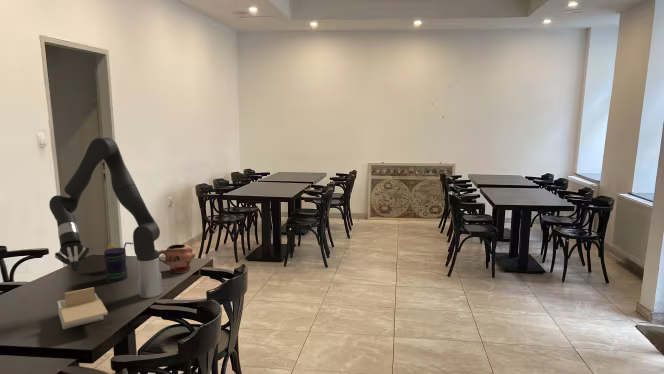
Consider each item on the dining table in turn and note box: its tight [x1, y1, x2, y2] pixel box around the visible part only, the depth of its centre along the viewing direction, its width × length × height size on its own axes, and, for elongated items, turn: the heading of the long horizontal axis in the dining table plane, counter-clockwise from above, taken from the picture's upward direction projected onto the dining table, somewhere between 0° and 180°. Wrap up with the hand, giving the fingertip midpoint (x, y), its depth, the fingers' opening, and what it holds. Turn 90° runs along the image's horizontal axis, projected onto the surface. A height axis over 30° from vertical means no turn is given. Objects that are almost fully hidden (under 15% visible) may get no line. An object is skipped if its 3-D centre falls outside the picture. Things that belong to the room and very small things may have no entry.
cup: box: [106, 241, 134, 252], centre depth 234 cm, size 14×8×15 cm, turn 95°
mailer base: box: [57, 292, 105, 330], centre depth 176 cm, size 14×16×6 cm
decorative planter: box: [158, 243, 197, 274], centre depth 231 cm, size 20×12×14 cm, turn 103°
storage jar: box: [103, 247, 128, 283], centre depth 220 cm, size 10×10×15 cm
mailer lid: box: [60, 286, 109, 324], centre depth 166 cm, size 14×16×6 cm
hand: (75, 271), depth 178 cm, fingers closed
